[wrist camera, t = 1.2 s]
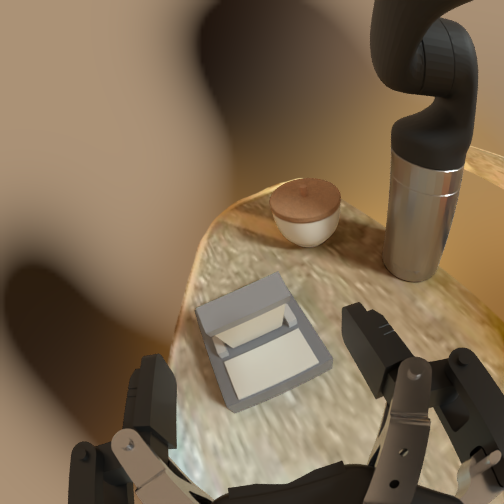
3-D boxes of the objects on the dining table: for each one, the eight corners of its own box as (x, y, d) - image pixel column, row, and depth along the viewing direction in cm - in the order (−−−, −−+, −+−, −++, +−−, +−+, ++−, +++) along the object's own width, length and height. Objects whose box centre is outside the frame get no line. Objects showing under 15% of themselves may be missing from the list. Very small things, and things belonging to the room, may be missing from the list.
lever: (284, 326, 30) (290, 295, 19) (232, 350, 29) (205, 333, 18) (276, 311, 31) (278, 271, 19) (225, 334, 30) (195, 307, 19)
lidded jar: (336, 212, 47) (333, 165, 41) (346, 254, 40) (346, 203, 33) (278, 218, 49) (268, 173, 43) (277, 261, 42) (265, 212, 36)
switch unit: (332, 368, 28) (333, 353, 25) (235, 413, 26) (223, 404, 24) (281, 287, 38) (276, 267, 35) (202, 322, 37) (190, 305, 34)
